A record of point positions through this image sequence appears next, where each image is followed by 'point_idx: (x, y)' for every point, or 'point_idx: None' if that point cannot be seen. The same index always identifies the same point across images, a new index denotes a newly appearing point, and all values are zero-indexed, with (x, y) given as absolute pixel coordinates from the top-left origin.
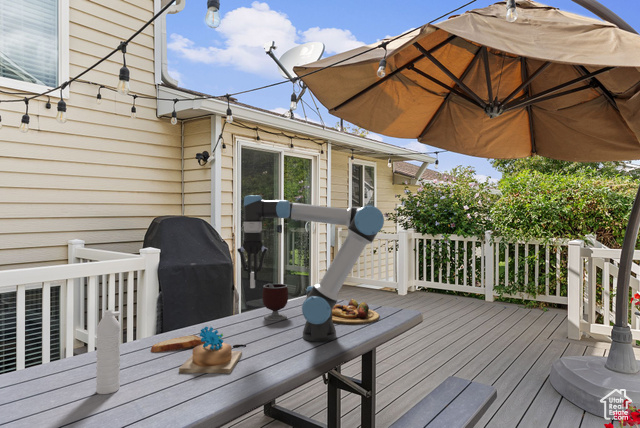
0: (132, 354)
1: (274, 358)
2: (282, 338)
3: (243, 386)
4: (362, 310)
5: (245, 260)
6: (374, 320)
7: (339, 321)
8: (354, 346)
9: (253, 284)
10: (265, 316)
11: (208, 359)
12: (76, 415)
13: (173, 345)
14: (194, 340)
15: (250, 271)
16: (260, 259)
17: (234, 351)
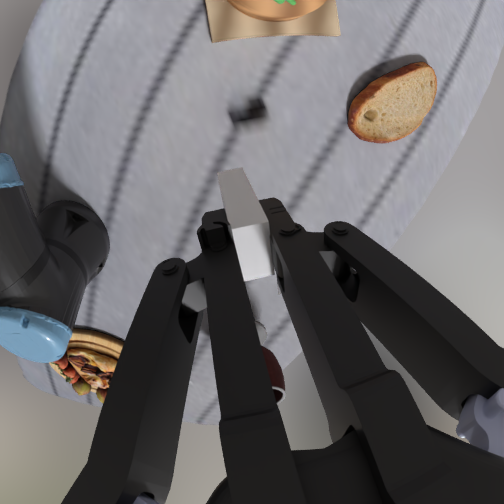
0: (447, 55)
1: (111, 47)
2: (151, 203)
3: None
4: (56, 363)
5: (381, 341)
6: None
7: (84, 332)
8: None
9: (222, 181)
10: (262, 332)
11: None
12: None
13: (403, 72)
14: (371, 94)
15: (272, 233)
16: (152, 379)
17: (233, 36)
